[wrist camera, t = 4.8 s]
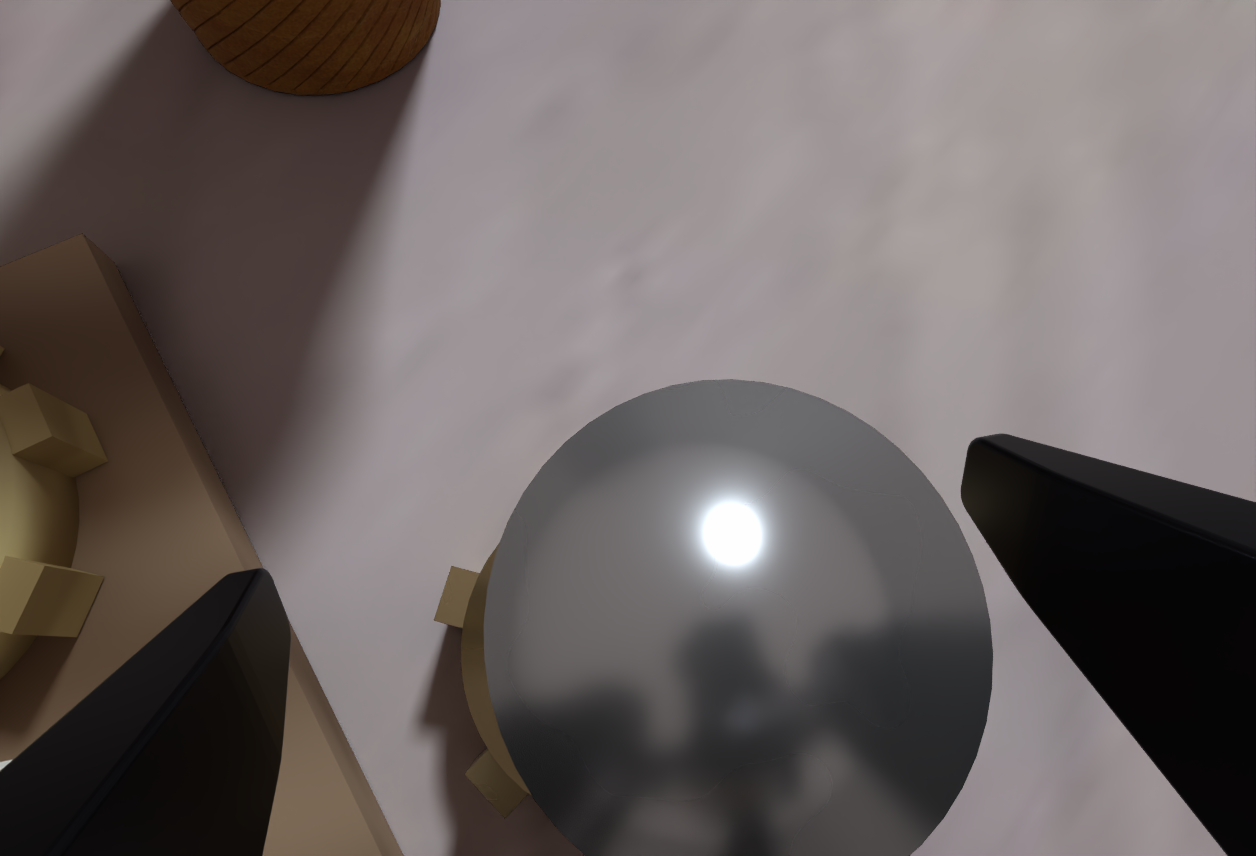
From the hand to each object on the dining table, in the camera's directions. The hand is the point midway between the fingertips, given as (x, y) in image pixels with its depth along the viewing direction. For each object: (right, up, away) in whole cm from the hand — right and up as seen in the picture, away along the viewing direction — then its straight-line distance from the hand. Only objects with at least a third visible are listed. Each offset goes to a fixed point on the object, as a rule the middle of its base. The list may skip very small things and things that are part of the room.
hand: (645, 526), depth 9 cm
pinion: (0, -3, +6) cm, 7 cm away
